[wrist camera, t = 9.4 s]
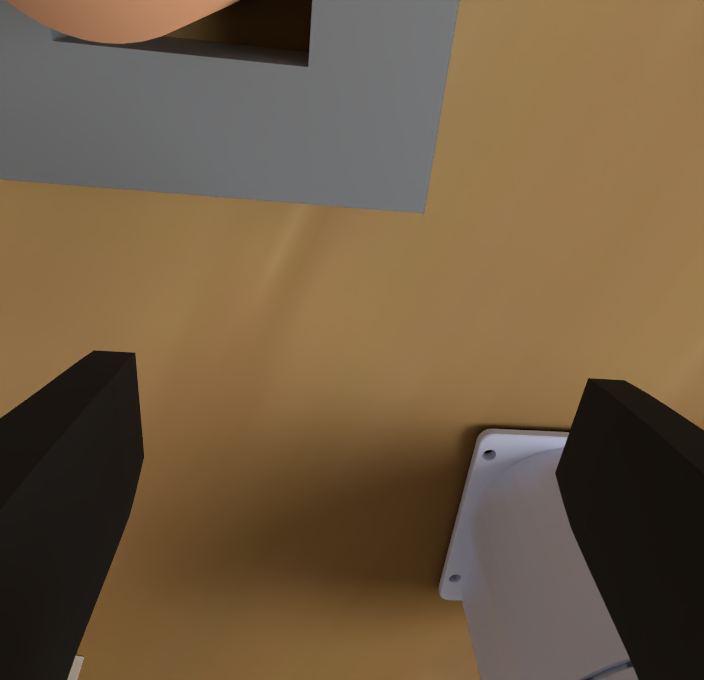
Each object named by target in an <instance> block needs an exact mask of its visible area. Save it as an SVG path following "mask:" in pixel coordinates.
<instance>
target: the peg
mask: <svg viewBox="0 0 704 680" xmlns="http://www.w3.org/2000/svg"><path fill="white" fill-rule="evenodd" d="M6 1H7V2H9V3H10V4H11V5H13V6H14V7H15V8H17V9H18V10H19V11H21V12H22V13H24V14H26V15H27V16H29V17H31V18H32V19H34V20H36V21H37V22H39V23H41V24H43V25H45V26H47V27H49V28H52V29H54V30H56V31H58V32H61V33H63V34H66V35H69V36H73V37H76V38H79V39H82V40H88V41H94V42H100V43H115V44H125V43H134V42H143V41H146V40H150V39H154V38H158V37H161V36H163V35H166V34H168V33H170V32H173V31H175V30H177V29H179V28H182V27H184V26H186V25H188V24H190V23H192V22H195V21H197V20H199V19H201V18H203V17H205V16H208V15H210V14H212V13H214V12H216V11H219V10H221V9H223V8H225V7H227V6H229V5H232V4H234V3H236V2H238V1H240V0H6Z"/></svg>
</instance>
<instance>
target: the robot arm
mask: <svg viewBox="0 0 704 680" xmlns="http://www.w3.org/2000/svg"><path fill="white" fill-rule="evenodd" d="M487 450H492V452H490V453H486V454H485V453H484V452H485V451H487ZM143 459H144V450H143V438H142V427H141V415H140V404H139V392H138V380H137V369H136V357H135V353H128V352H111V351H93V352H91V353H90V354H88V355H87V356H85V357H84V358H82V359H81V360H79V361H78V362H77V363H75V364H74V365H73V366H71V367H70V368H69V369H67V370H66V371H65V372H63V373H62V374H61V375H59V376H58V377H57V378H55V379H54V380H52V381H51V382H50V383H48V384H47V385H46V386H44V387H43V388H42V389H40V390H39V391H38V392H36V393H35V394H34V395H32V396H31V397H29V398H28V399H27V400H25V401H24V402H22V403H21V404H20V405H18V406H17V407H15V408H14V409H13V410H11V411H10V412H9V413H7V414H6V415H4V416H3V417H2V418H0V680H67V679H68V676H69V673H70V670H71V668H72V665H73V662H74V659H75V656H76V653H77V650H78V648H79V645H80V642H81V640H82V637H83V635H84V632H85V630H86V627H87V624H88V622H89V619H90V617H91V614H92V612H93V609H94V607H95V604H96V601H97V599H98V596H99V594H100V591H101V589H102V586H103V583H104V581H105V578H106V576H107V573H108V571H109V568H110V565H111V563H112V560H113V558H114V555H115V552H116V550H117V547H118V545H119V542H120V539H121V537H122V534H123V532H124V529H125V526H126V524H127V521H128V518H129V515H130V512H131V508H132V504H133V500H134V496H135V493H136V489H137V484H138V480H139V476H140V472H141V467H142V463H143ZM439 593H440V596H441V597H442V598H443V599H445V600H462V603H463V607H464V611H465V615H466V620H467V624H468V628H469V632H470V637H471V641H472V645H473V649H474V654H475V658H476V662H477V666H478V671H479V675H480V679H481V680H704V430H702V429H701V428H699V427H698V426H696V425H695V424H693V423H692V422H690V421H689V420H687V419H686V418H684V417H683V416H681V415H680V414H678V413H677V412H675V411H674V410H672V409H671V408H669V407H668V406H666V405H665V404H663V403H662V402H660V401H658V400H657V399H655V398H654V397H652V396H651V395H649V394H647V393H646V392H644V391H642V390H641V389H639V388H637V387H635V386H634V385H632V384H630V383H628V382H626V381H624V380H608V379H590V378H588V381H587V384H586V386H585V389H584V392H583V395H582V398H581V401H580V403H579V406H578V409H577V412H576V415H575V418H574V421H573V423H572V426H571V429H570V432H553V431H532V430H511V429H487V430H484V431H482V432H481V433H480V434H479V436H478V437H477V440H476V444H475V448H474V452H473V456H472V460H471V464H470V467H469V471H468V475H467V479H466V483H465V487H464V491H463V494H462V498H461V502H460V506H459V510H458V514H457V518H456V522H455V525H454V529H453V533H452V537H451V541H450V545H449V549H448V552H447V556H446V560H445V564H444V568H443V572H442V576H441V579H440V583H439Z"/></svg>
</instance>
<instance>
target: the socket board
mask: <svg viewBox="0 0 704 680" xmlns="http://www.w3.org/2000/svg"><path fill="white" fill-rule="evenodd" d="M459 1H460V0H312V12H311V28H310V44H309V52H305V51H295V50H286V49H276V48H267V47H257V46H248V45H238V44H229V43H219V42H209V41H200V40H190V39H181V38H171V37H162V36H161V37H158V38H154V39H150V40H146V41H143V42H134V43H125V44H115V43H100V42H94V41H88V40H82V39H79V38H76V37H73V36H69V35H66V34H63V33H61V32H58V31H56V30H54V29H52V28H49V27H47V26H45V25H43V24H41V23H39V22H37V21H36V20H34V19H32V18H31V17H29V16H27V15H26V14H24V13H22V12H21V11H19V10H18V9H17V8H15V7H14V6H13V5H11V4H10V3H9V2H7V1H6V0H0V179H4V180H17V181H29V182H41V183H54V184H66V185H79V186H91V187H103V188H116V189H128V190H140V191H153V192H165V193H177V194H190V195H202V196H214V197H227V198H239V199H251V200H264V201H276V202H289V203H301V204H313V205H326V206H338V207H350V208H363V209H375V210H387V211H400V212H412V213H424V212H425V206H426V200H427V194H428V188H429V182H430V175H431V169H432V163H433V157H434V151H435V145H436V139H437V133H438V127H439V121H440V115H441V109H442V103H443V97H444V91H445V85H446V79H447V73H448V67H449V61H450V55H451V49H452V43H453V37H454V31H455V25H456V19H457V13H458V7H459Z"/></svg>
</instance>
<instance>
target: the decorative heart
mask: <svg viewBox="0 0 704 680" xmlns="http://www.w3.org/2000/svg"><path fill="white" fill-rule="evenodd" d="M83 661H84V657H82V656H75V659H74V662H73V665H72V668H71V670H70V673H69V676H68V679H67V680H77V679H78V676H79V673H80V670H81V667H82V664H83Z"/></svg>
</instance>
